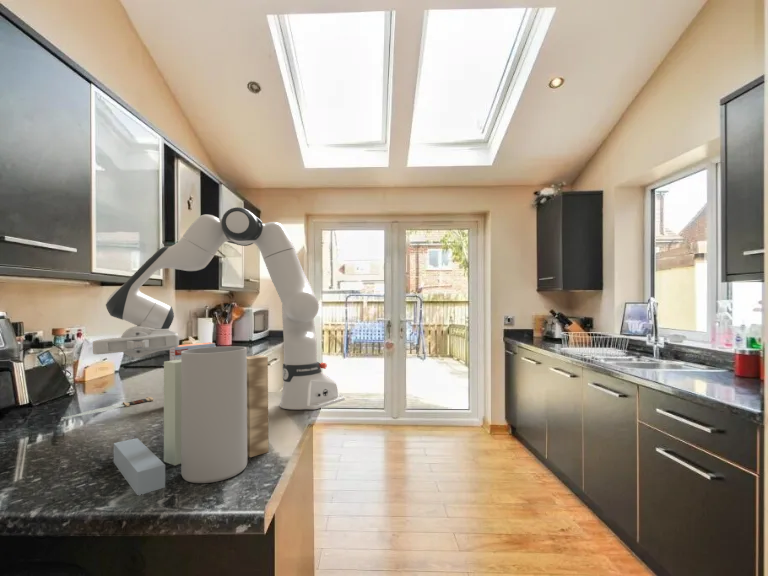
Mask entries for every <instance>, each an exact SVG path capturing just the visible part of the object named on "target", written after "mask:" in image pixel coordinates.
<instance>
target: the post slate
mask: <svg viewBox="0 0 768 576" xmlns="http://www.w3.org/2000/svg"><path fill="white" fill-rule="evenodd" d="M113 464H114V465H115V466H116V468H117V469H118V471H119V472H120V474H121V475H122V476H123V477H124V479H125V480H126V482H127V483H128V484H129V486H130V487H131V488H132V491H134V493H135V494H136V495H139V496H142V495H144V494H148V493H151V491H152V492H154V491H157V490H161V489H165V488H166V464H165V462H164V461H162V460H161V459H160V457H158V456H157V455H156V454H155V453H154V452H152V450H150V448H148V447H147V446H146V445H145V444H144V443H143V442H142V441H141V439H139V438H138V437H137V438H132V439H131V438H130V439H127V440H122V441H118V442H114V443H113ZM141 494H142V495H141Z"/></svg>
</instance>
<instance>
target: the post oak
mask: <svg viewBox="0 0 768 576" xmlns="http://www.w3.org/2000/svg"><path fill="white" fill-rule="evenodd" d="M268 357H269V356H265V355H259V354H258V355H247V458H248V457H249V458H252V457H256V456H259V455H260V456H261V455H262V454H267V453H269V451H270V447H269V445H270V444H269V442H270V441H269V439H270V438H269V364H268V363H269V360H268V359H269V358H268Z"/></svg>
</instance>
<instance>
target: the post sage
mask: <svg viewBox="0 0 768 576" xmlns="http://www.w3.org/2000/svg"><path fill="white" fill-rule="evenodd" d="M163 463H166V464H170V465H172V466H179V465H181V359H179V360H172V361H170V360H167V361H163Z"/></svg>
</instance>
